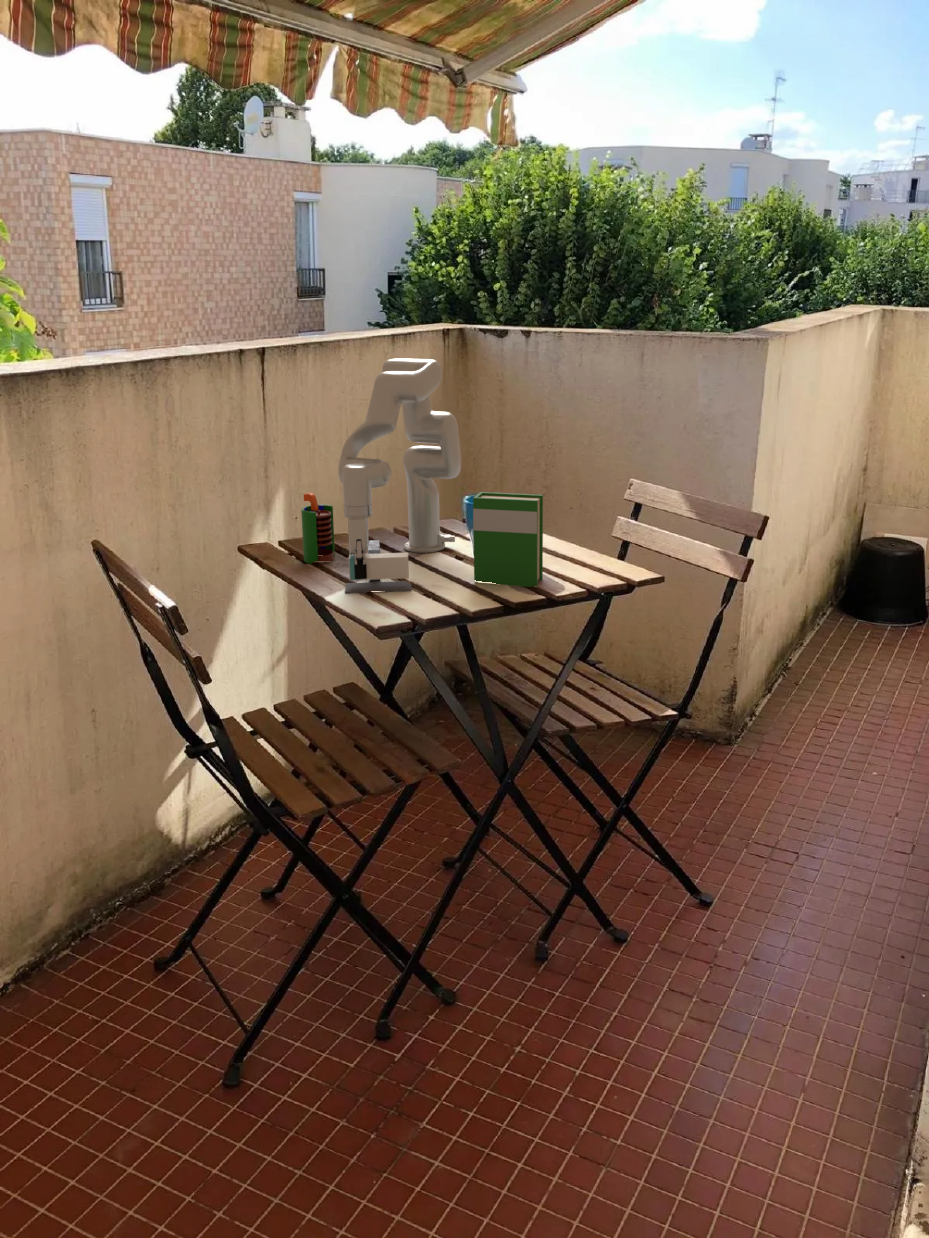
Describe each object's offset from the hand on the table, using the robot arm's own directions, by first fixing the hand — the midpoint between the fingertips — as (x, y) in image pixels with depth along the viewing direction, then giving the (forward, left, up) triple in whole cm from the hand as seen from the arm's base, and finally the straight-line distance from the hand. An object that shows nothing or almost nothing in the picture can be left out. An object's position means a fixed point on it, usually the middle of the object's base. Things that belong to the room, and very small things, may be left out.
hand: (361, 575), depth 300 cm
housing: (-4, -13, -4) cm, 14 cm away
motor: (+13, -31, -4) cm, 34 cm away
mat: (-5, 0, -4) cm, 6 cm away
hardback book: (-41, -2, -4) cm, 41 cm away
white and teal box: (-5, 0, -1) cm, 5 cm away
